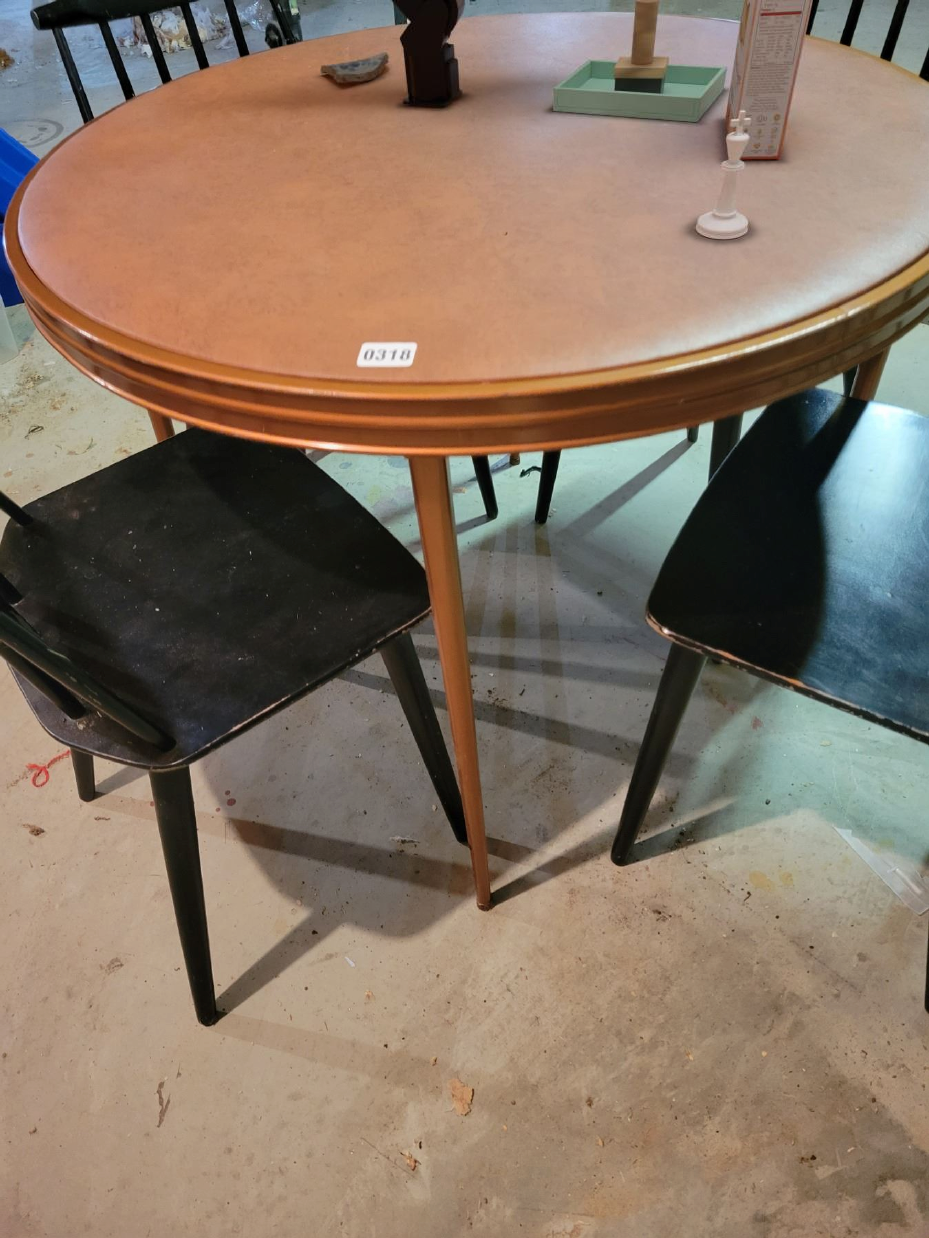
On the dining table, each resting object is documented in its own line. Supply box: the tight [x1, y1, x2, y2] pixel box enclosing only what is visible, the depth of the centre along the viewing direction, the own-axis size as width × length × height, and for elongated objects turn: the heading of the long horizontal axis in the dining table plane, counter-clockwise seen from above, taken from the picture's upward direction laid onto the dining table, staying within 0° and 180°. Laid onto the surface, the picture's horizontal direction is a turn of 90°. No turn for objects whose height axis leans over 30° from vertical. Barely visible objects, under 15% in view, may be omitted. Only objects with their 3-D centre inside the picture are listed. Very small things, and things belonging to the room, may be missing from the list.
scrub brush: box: [614, 0, 670, 94], centre depth 98 cm, size 6×5×10 cm
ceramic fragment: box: [320, 52, 390, 84], centre depth 118 cm, size 11×3×10 cm
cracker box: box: [725, 0, 813, 161], centre depth 83 cm, size 14×6×21 cm, turn 169°
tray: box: [552, 59, 728, 123], centre depth 102 cm, size 19×13×3 cm
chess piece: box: [695, 110, 751, 240], centre depth 72 cm, size 5×5×10 cm
